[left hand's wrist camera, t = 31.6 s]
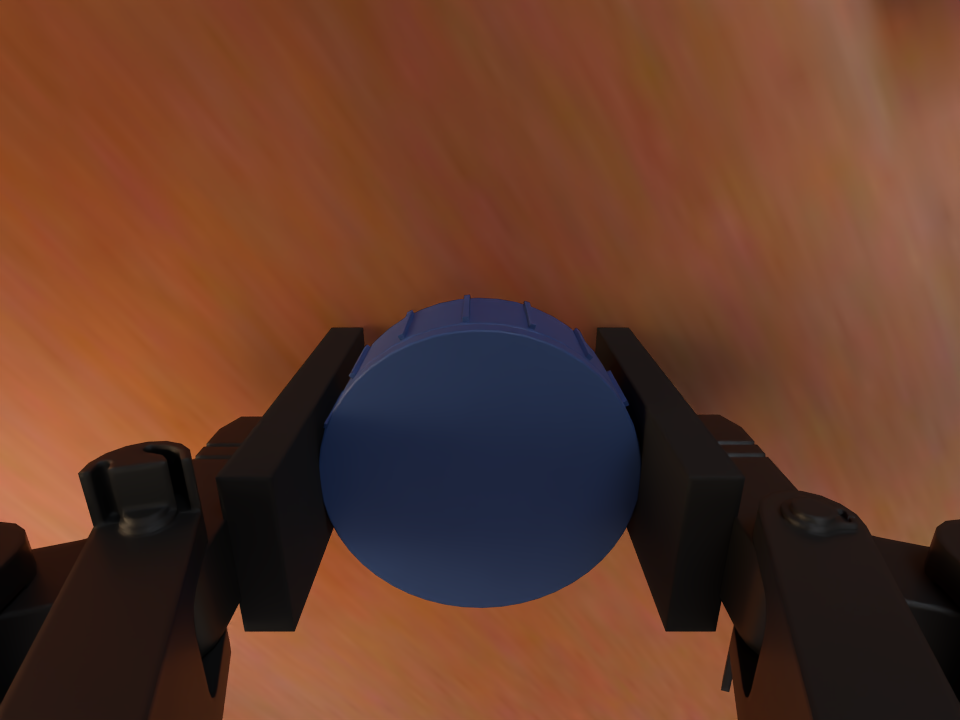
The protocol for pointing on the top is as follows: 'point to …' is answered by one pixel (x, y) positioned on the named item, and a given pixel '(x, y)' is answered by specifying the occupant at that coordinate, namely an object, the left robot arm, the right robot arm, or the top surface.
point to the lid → (480, 455)
